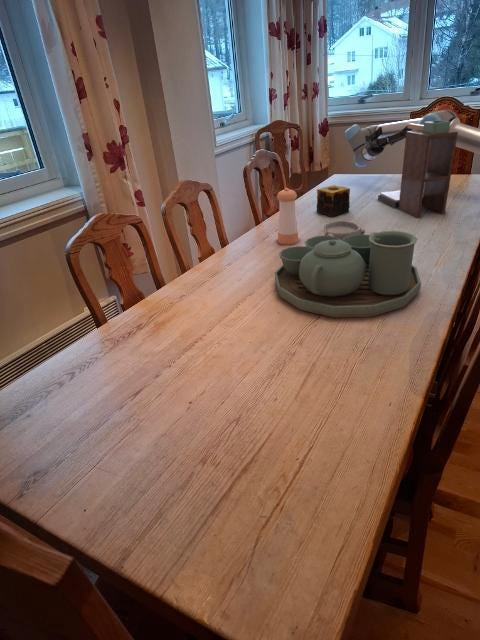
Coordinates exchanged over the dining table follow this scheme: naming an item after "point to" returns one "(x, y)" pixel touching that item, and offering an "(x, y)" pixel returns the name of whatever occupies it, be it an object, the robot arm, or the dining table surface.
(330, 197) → the candle
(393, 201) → the whiteboard
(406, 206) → the shelf
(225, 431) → the dining table surface
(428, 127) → the scoop
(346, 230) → the dish
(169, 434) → the dining table surface
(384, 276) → the tea set
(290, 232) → the pepper shaker
